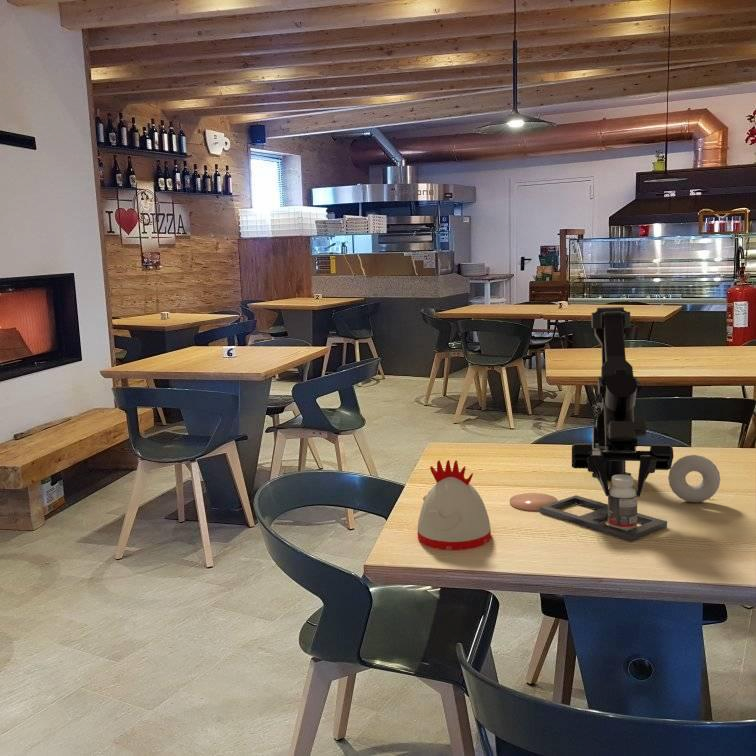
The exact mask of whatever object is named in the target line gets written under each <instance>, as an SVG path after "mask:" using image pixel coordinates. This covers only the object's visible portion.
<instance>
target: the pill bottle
mask: <svg viewBox="0 0 756 756" xmlns="http://www.w3.org/2000/svg"><path fill="white" fill-rule="evenodd" d="M610 482H611V485H612V486H611V487H608V493H609V494H608V496H607V504H608V520H607V525H610V526H613V527H616V528H619V529H623V530H626V531H628V530H630V529H633V528H635V527H638V522H637V513H638V499H639V498H638V494H637V488H635V487H634V484H635V481H634V477H633V476H632V475H631V476H630V475H624V474H618V475H613V476H612V480H610Z"/></svg>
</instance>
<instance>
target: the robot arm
mask: <svg viewBox="0 0 756 756" xmlns="http://www.w3.org/2000/svg"><path fill="white" fill-rule="evenodd" d="M624 308H625V307H624V306H614V307H613V306H610V307H597V308H596V311H595V312H591V320H590V323H591V328H592V329H594V337H595V338H596V341H598V344H599V345H600V346H601V367H600V369H601V370H600V371H601V372H600V376H598V377H597V394H598V395H601V398H602V405H601V406H602V408H601V411H600V412H599V414H598V416H597V417H596V420H595V425H593V426H592V437H591V438H592V440H591V441H592V443H591V442H573V444H572V445H571V468H573V469H587V472H588V473H591V476H593V477H595V478H596V479H597V480H598V482H599V484H600V486H601V489H602V491H603V492H604V495H605V496H606V497H608V494H609V493H608V490H609V482H608V481H612V476H613V475H618V474H624V475H630V476H632V473H631V472H627V471H626V468H627V466H626V462H639V467H638V468H639V469H638V478H637V488H636V490H637V494H638V495H637V498H640V497H641V495H642V492H643V488H644V486H645V483H646V480H647V478H648V476H649V475H650V474H654V473H655V472H656V470H657V471H670V469H671V467H672V466H673V461H674V460H673V459H674V448H673V447H672V446H671V444H669V443H650V447H649V450H637V447H638V437H646V435H647V421H646V418H634V417H635V415H634V408H635V406H636V400H637V399H636V398H637V394H639V393H640V391H641V392H642V384H641V382H639V380H638V378H637V376H634V370H633V368H634V367H633V365H631V363H629V361H627V359H626V358H627V357H626V349H625V348H626V344H625V337H626V335H627V329H628V328H631V311H627V310H625V309H624Z"/></svg>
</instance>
